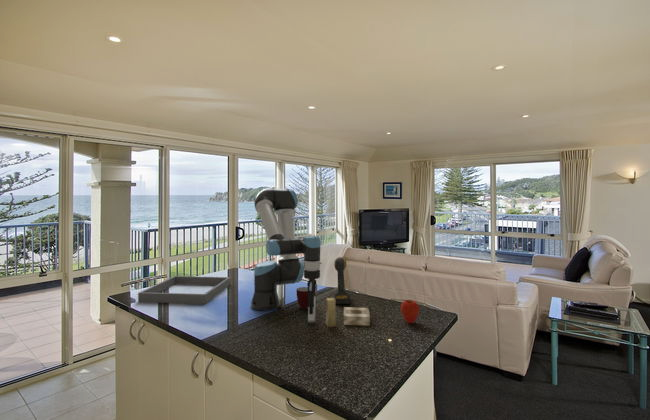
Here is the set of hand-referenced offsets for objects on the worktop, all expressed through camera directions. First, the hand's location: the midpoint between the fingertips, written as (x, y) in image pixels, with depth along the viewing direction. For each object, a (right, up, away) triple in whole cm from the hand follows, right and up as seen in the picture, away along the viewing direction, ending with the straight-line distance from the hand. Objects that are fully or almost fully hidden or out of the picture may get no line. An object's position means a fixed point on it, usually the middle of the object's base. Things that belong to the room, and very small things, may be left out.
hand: (311, 318), depth 151 cm
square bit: (+9, -2, -4) cm, 10 cm away
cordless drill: (+16, -1, +32) cm, 36 cm away
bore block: (+21, -2, +3) cm, 21 cm away
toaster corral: (-76, +1, +44) cm, 88 cm away
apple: (+46, -2, 0) cm, 46 cm away
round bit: (0, -2, 0) cm, 2 cm away
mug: (-4, -1, +18) cm, 19 cm away
